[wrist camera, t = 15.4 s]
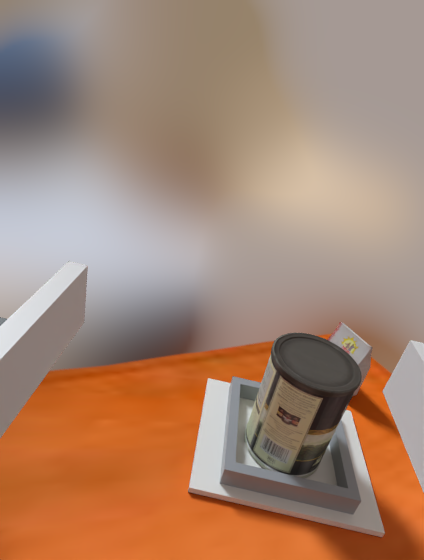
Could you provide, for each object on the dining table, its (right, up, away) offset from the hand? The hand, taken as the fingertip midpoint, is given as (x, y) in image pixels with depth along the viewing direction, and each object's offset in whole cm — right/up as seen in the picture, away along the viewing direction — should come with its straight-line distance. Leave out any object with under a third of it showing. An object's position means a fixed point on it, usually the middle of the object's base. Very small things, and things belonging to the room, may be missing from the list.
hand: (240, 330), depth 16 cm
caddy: (+8, -20, +35) cm, 41 cm away
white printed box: (+19, -15, +50) cm, 56 cm away
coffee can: (+8, -19, +35) cm, 41 cm away
